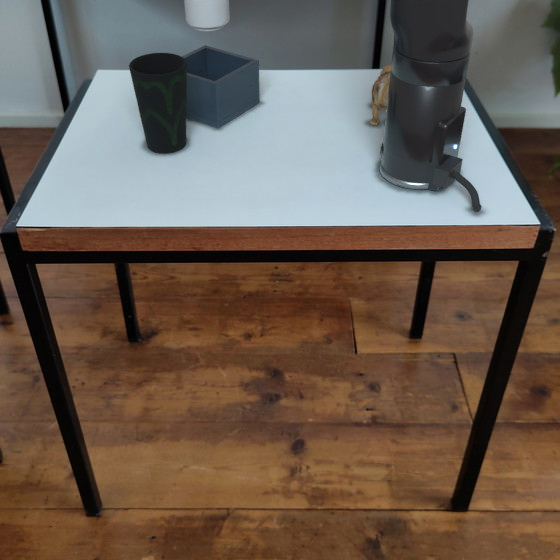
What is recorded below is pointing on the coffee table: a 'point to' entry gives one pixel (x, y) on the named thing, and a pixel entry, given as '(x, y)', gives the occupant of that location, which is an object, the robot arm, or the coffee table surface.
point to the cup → (161, 99)
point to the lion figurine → (380, 93)
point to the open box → (220, 85)
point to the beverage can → (207, 14)
